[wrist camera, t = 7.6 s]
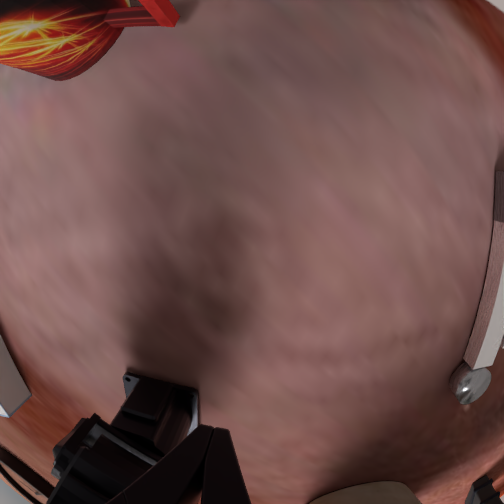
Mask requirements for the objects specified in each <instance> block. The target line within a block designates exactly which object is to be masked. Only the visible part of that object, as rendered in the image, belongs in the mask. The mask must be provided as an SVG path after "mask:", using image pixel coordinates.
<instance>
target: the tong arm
mask: <svg viewBox="0 0 504 504" xmlns="http://www.w3.org/2000/svg"><path fill="white" fill-rule="evenodd" d="M503 335H504V171H496V186H495V207H494V229H493V237H492V245H491V252H490V258H489V264H488V270H487V275H486V280H485V285H484V289H483V294H482V298H481V302H480V306H479V310H478V314H477V317H476V321H475V324H474V328H473V331H472V334H471V337H470V340H469V343H468V346H467V349H466V352H465V355H464V358H463V359H464V360H465V362H464V363H463V364H461V365H460V366H459V367H458V368H457V369H456V371H455V372H454V373H453V375H452V377H451V379H450V383H449V386H450V389H451V390H452V392H453V393H454V395H455V396H456V398H457V399H458V401H459V402H460V403H461V404H469V403H472V402H474V401H475V400H477V399H478V398H479V397H480V396H481V395H482V394H483V393H484V392H485V391H486V389H487V388H488V386H489V384H490V381H491V373H490V372H489V370H488V369H487V368H486V367H487V366H491V365H492V364H493V362H494V359H495V357H496V354H497V352H498V349H499V346H500V344H501V341H502V338H503Z"/></svg>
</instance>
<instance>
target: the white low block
mask: <svg viewBox="0 0 504 504" xmlns="http://www.w3.org/2000/svg"><path fill="white" fill-rule="evenodd" d="M31 396H32V394H31V393H30V392H29V390H28V388H27V386H26V385H25V383H24V381H23V379H22V377H21V376H20V374H19V372H18V370H17V368H16V366H15V364H14V362H13V360H12V358H11V356H10V354H9V352H8V350H7V348H6V346H5V344H4V341H3V339H2V337H1V334H0V416H4V417H9V418H10V417H11V416H12V415H13V414H14V413H15V412H16V411H17V410H18V409H19V408H20V407H21V406H22V405H23V404H24V403H25V402H26V401H27V400H28V399H29V398H30V397H31Z"/></svg>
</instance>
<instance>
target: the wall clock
mask: <svg viewBox="0 0 504 504" xmlns="http://www.w3.org/2000/svg"><path fill="white" fill-rule="evenodd" d="M0 473H1V474H2V475H3V476H4V478H5V479H6V480H7V481H8V482H9V483H10V484H11V485H12V486H13V487H14V488H15V489H16V490H18V491H19V492H20V493H21V494H22V495H23V496H24V497H26V498H27V499H28V500H29V501H30V502H32V503H33V504H46V502H47V500H48V499H49V497H50V495H51V493H52V492H53V490H54V487H53V486H51V485H50V484H49V483H48V482H46V481H45V480H44V479H42V478H41V477H40V476H39V475H37V474H36V473H35V472H34V471H32V470H31V469H30V468H29V467H27V466H26V465H25V464H23V463H22V462H21V461H20V460H18V459H17V458H16V457H14V456H13V455H11V454H10V453H9V452H7V451H6V450H4V449H2V448H0Z"/></svg>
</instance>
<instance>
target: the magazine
mask: <svg viewBox="0 0 504 504" xmlns="http://www.w3.org/2000/svg"><path fill="white" fill-rule="evenodd" d="M492 483H493V479H490V480H489V478H488V476H487V475H486V476H484V477H482V478H481V479H479V480H477V481H476V482H474V483H473V484H472V486H471V489H470V491H469V493H468V496H467V498H466V500H465V504H504V503H503V502H502V501H501V499H500V498H499V496H500V492H499V491H498V492H496V491H495V490H494V488H493V486H492Z"/></svg>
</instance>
